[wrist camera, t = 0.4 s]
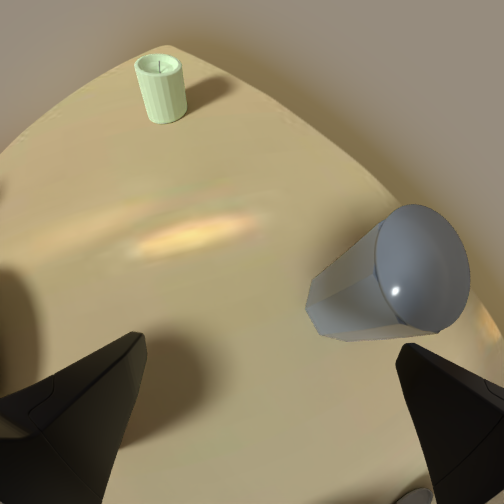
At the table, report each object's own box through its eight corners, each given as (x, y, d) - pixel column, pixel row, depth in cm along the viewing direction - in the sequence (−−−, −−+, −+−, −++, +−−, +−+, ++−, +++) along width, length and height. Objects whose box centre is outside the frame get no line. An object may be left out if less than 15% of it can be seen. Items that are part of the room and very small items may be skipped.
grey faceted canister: (378, 279, 24) (468, 229, 12) (364, 347, 22) (465, 340, 10) (315, 259, 24) (382, 186, 12) (297, 330, 22) (367, 315, 10)
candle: (189, 97, 30) (183, 46, 22) (185, 122, 29) (177, 67, 21) (152, 101, 30) (140, 52, 22) (145, 126, 28) (128, 74, 20)
